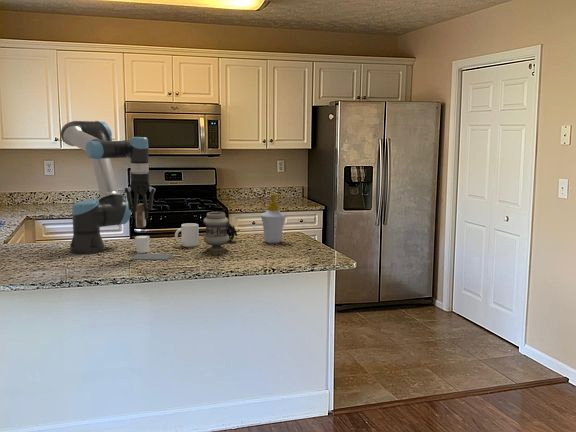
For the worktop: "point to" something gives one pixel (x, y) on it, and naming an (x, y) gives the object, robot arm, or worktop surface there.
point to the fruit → (231, 231)
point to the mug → (188, 235)
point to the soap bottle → (273, 222)
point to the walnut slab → (140, 215)
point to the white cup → (142, 243)
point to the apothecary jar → (216, 231)
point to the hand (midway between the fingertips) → (140, 226)
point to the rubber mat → (151, 257)
